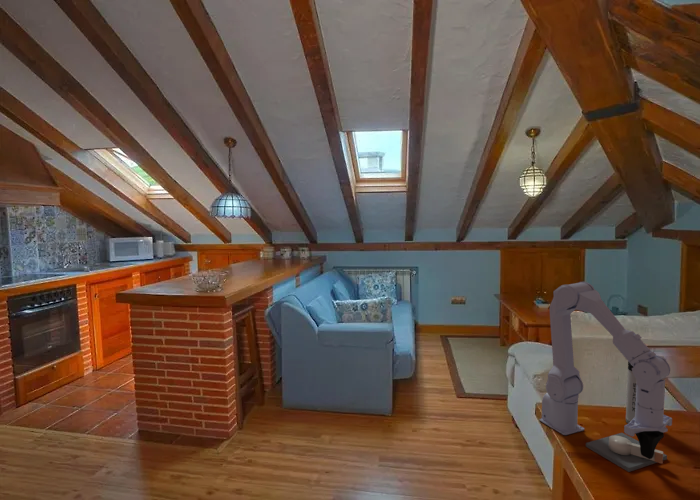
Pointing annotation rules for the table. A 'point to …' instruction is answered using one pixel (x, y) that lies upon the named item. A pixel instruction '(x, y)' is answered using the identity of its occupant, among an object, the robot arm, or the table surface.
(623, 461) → the flat gray base
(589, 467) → the table surface
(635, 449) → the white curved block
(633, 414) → the travel mug
